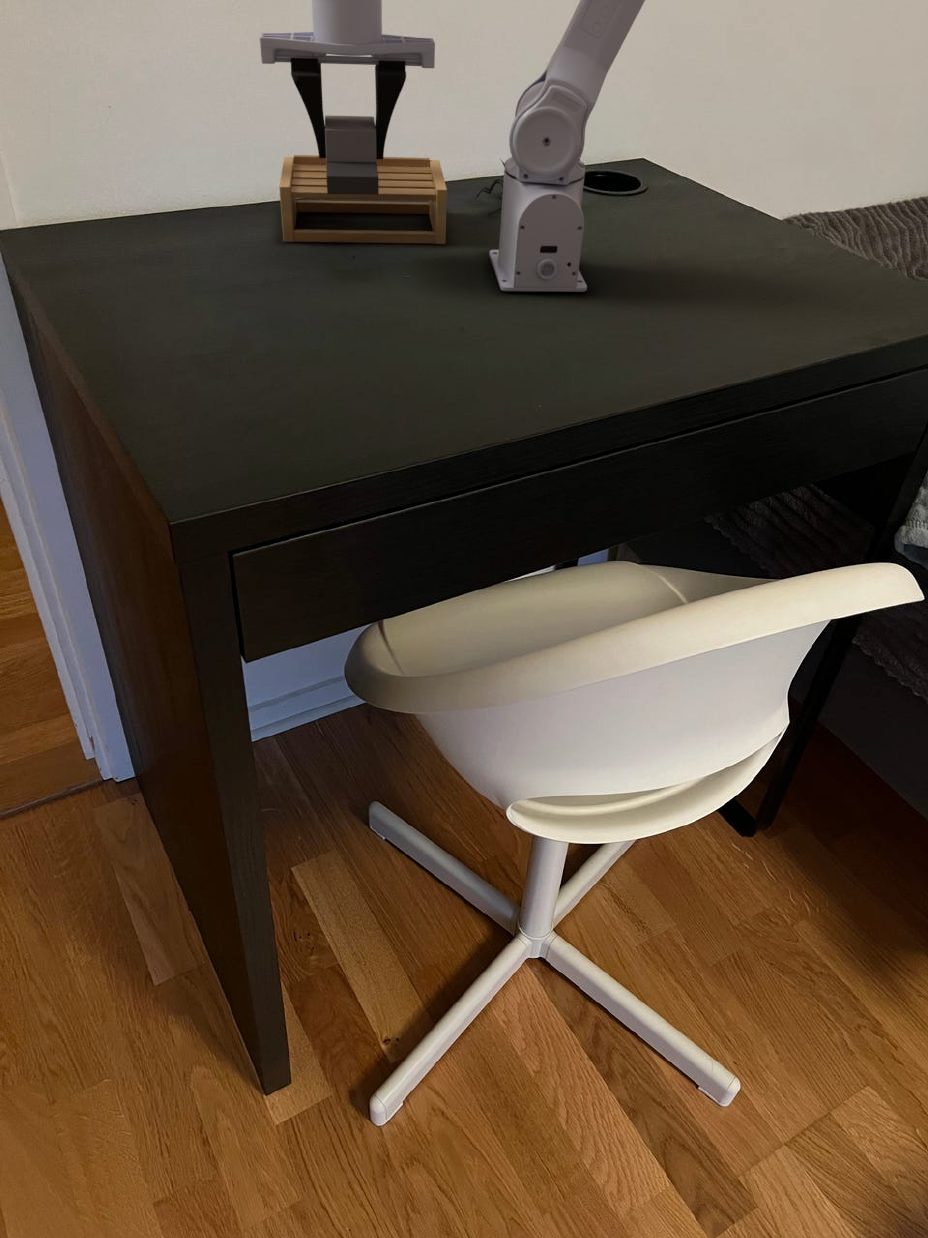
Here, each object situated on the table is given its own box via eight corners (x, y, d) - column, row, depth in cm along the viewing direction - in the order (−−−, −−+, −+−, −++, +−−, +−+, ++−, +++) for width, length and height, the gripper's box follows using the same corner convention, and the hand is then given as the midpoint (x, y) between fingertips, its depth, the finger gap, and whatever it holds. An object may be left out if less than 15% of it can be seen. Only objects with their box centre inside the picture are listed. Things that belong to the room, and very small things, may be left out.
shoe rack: (445, 244, 95) (447, 187, 91) (283, 242, 93) (279, 184, 90) (437, 211, 102) (439, 157, 99) (287, 209, 101) (283, 154, 97)
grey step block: (378, 194, 82) (378, 143, 79) (327, 194, 81) (324, 142, 78) (374, 164, 88) (373, 115, 86) (327, 163, 88) (324, 114, 85)
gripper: (431, -29, 80) (428, 144, 89) (257, -36, 79) (271, 141, 88) (438, -17, 75) (434, 166, 84) (252, -24, 73) (268, 163, 82)
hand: (351, 155), depth 85 cm, fingers closed on grey step block, 4 cm apart
